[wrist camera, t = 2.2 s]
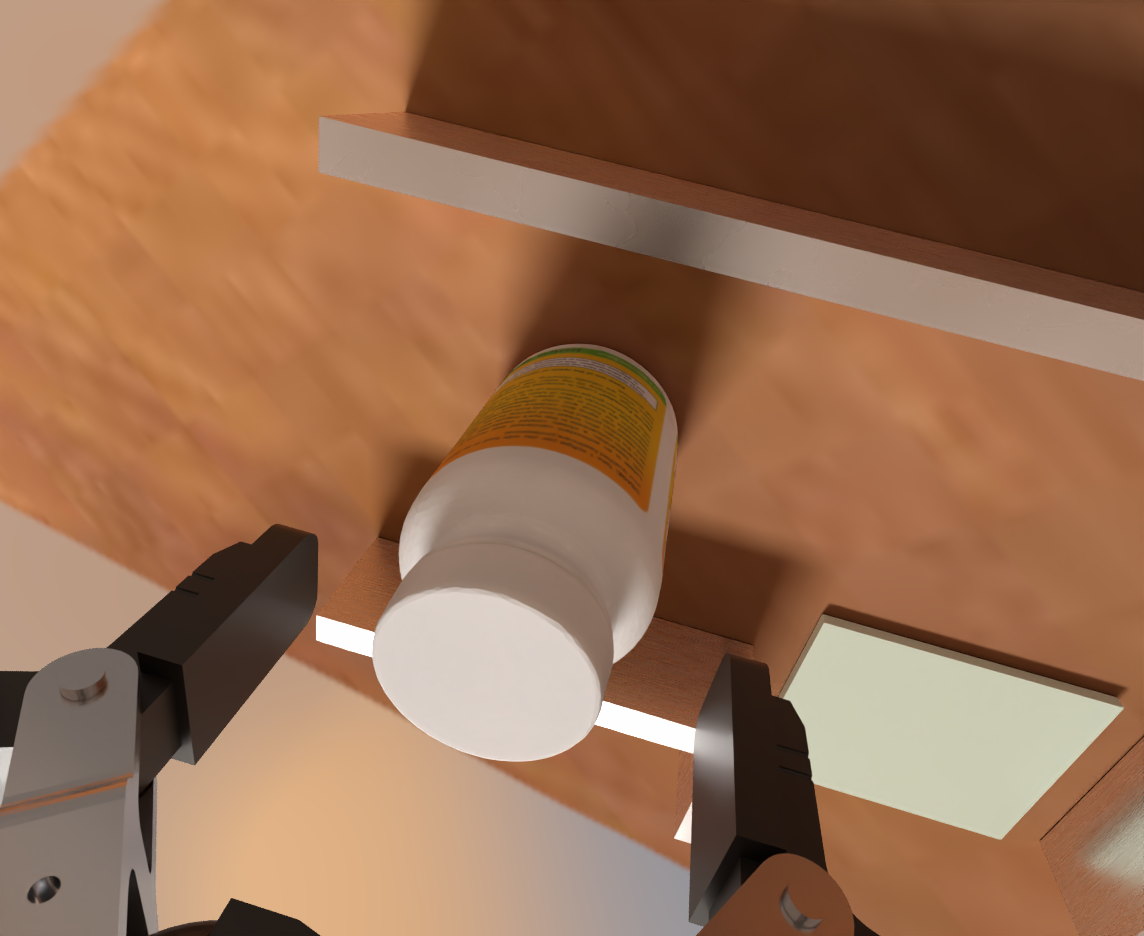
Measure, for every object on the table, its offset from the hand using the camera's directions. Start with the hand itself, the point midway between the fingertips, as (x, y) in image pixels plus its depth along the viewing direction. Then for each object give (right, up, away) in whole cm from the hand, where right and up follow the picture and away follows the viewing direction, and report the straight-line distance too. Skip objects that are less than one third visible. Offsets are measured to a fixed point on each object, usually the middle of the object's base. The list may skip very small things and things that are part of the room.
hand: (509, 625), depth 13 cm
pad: (+13, -6, +9) cm, 17 cm away
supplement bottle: (+2, +4, +7) cm, 8 cm away
